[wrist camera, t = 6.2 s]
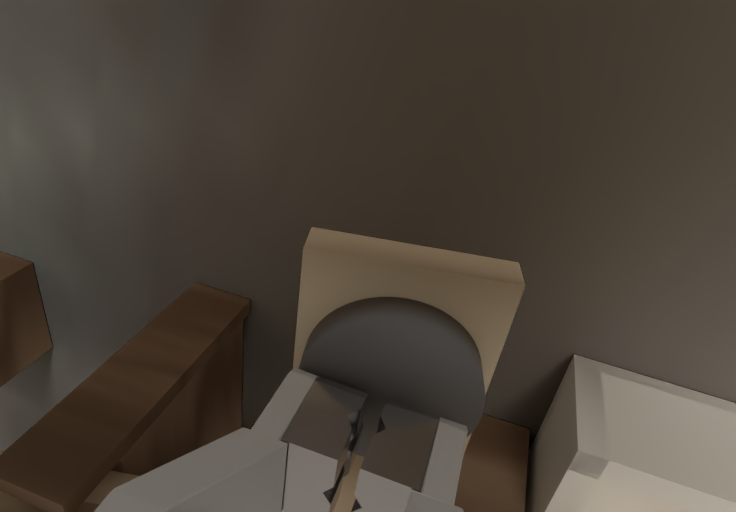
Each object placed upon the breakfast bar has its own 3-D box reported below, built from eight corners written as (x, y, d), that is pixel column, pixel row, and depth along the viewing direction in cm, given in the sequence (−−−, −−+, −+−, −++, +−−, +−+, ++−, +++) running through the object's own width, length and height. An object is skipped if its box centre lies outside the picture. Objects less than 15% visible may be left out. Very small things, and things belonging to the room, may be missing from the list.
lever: (-587, 70, 10) (-1090, 134, 7) (621, 277, 10) (721, 452, 7) (-233, 513, 18) (-386, 645, 15) (449, 637, 18) (454, 801, 14)
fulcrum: (-32, 209, 23) (-331, 333, 15) (545, 394, 18) (536, 713, 10) (11, 355, 27) (-203, 508, 20) (482, 534, 22) (443, 828, 15)
